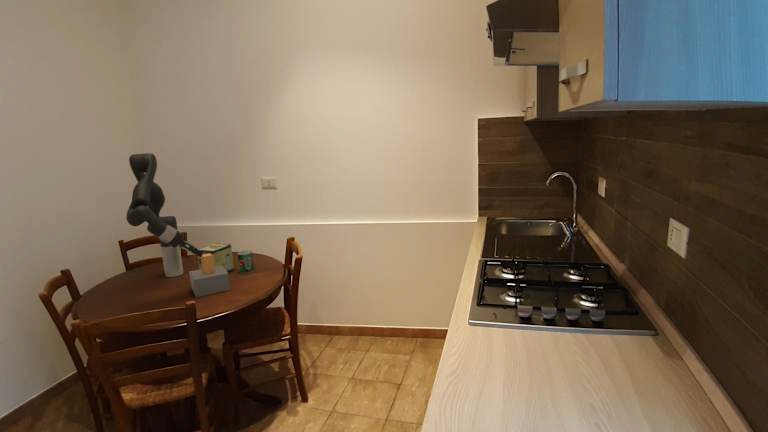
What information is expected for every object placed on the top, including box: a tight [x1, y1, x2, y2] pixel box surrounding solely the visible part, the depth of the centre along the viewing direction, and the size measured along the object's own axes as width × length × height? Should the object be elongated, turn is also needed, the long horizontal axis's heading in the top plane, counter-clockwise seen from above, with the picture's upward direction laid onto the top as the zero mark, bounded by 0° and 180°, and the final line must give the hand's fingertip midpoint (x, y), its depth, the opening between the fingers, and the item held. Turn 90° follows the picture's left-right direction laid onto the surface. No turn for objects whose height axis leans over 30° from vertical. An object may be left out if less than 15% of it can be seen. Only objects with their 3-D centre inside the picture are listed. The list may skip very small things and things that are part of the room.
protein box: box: [197, 242, 235, 274], centre depth 242 cm, size 10×16×16 cm
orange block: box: [201, 253, 215, 274], centre depth 218 cm, size 4×4×9 cm
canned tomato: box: [237, 250, 255, 275], centre depth 245 cm, size 8×8×11 cm
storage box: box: [188, 265, 231, 298], centre depth 220 cm, size 16×16×9 cm
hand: (198, 253), depth 215 cm, fingers open, 8 cm apart
